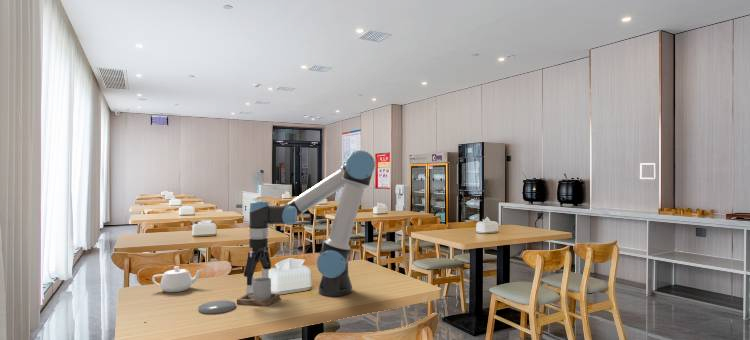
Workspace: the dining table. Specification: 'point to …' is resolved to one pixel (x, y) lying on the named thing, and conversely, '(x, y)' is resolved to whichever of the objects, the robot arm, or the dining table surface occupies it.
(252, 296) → the cup
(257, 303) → the brown wooden tray
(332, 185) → the robot arm
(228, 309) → the coaster
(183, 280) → the teapot
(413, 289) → the dining table surface
